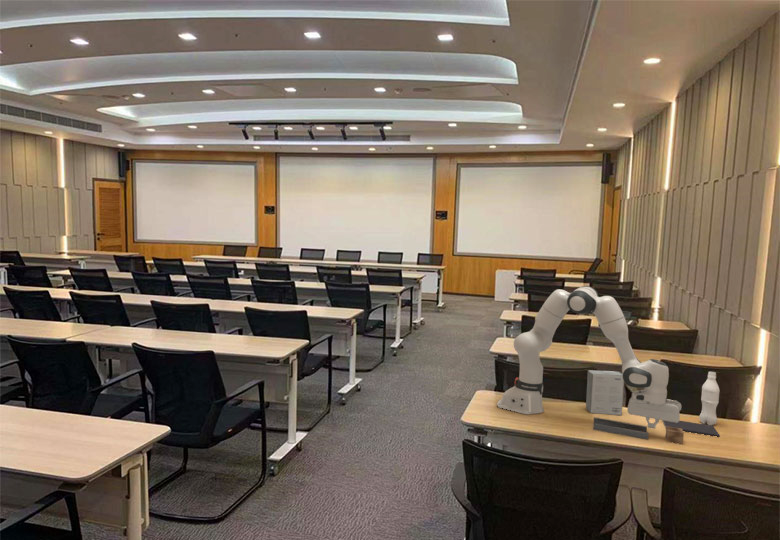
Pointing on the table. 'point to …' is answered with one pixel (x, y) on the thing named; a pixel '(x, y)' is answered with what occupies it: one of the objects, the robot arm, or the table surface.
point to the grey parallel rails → (620, 428)
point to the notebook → (693, 427)
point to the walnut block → (674, 435)
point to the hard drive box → (604, 392)
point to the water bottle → (709, 400)
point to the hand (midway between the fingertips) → (651, 427)
